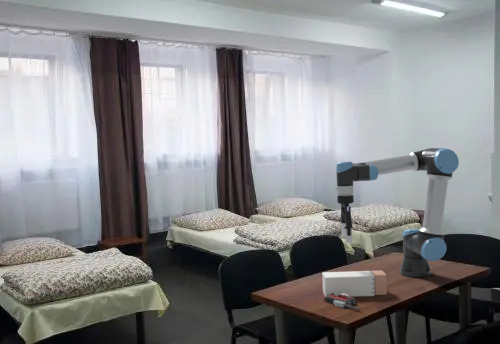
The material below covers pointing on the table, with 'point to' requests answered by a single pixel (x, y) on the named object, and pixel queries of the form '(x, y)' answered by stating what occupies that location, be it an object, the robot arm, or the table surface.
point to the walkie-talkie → (341, 300)
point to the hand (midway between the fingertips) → (346, 239)
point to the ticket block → (349, 283)
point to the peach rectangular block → (380, 282)
